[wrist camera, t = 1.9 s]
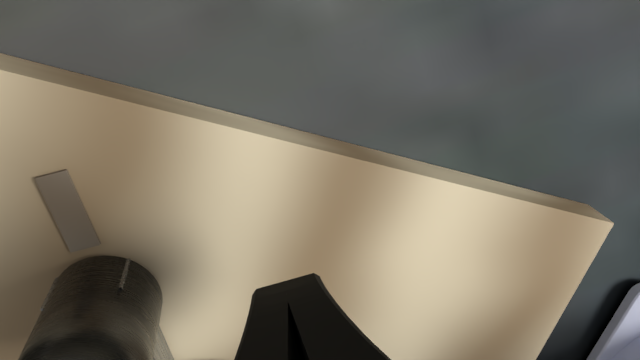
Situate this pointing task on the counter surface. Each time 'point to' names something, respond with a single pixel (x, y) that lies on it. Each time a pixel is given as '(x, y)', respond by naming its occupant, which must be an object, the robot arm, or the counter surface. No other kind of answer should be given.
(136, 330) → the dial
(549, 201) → the board
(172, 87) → the counter surface
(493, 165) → the counter surface
